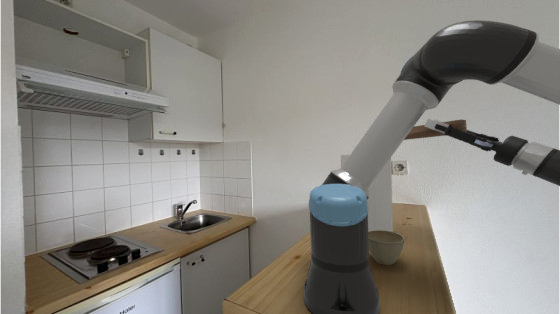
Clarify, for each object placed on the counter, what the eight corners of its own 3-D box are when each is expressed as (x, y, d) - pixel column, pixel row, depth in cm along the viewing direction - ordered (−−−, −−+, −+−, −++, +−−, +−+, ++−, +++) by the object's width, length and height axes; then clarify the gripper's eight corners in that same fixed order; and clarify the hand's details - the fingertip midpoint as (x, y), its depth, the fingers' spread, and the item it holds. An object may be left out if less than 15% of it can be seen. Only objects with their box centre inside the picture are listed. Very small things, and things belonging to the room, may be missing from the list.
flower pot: (367, 251, 70) (366, 228, 70) (403, 256, 65) (403, 232, 65) (363, 265, 61) (363, 239, 61) (406, 273, 56) (405, 244, 56)
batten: (462, 132, 66) (461, 119, 66) (384, 141, 86) (384, 130, 86) (466, 133, 68) (466, 120, 69) (390, 141, 88) (389, 131, 88)
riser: (376, 245, 74) (374, 154, 74) (342, 233, 85) (340, 154, 85) (393, 238, 80) (390, 153, 79) (359, 228, 91) (357, 154, 91)
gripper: (502, 168, 55) (411, 132, 72) (518, 165, 64) (435, 134, 81) (522, 140, 52) (423, 109, 69) (536, 141, 61) (446, 114, 78)
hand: (429, 122), depth 75 cm, fingers closed on batten, 4 cm apart
